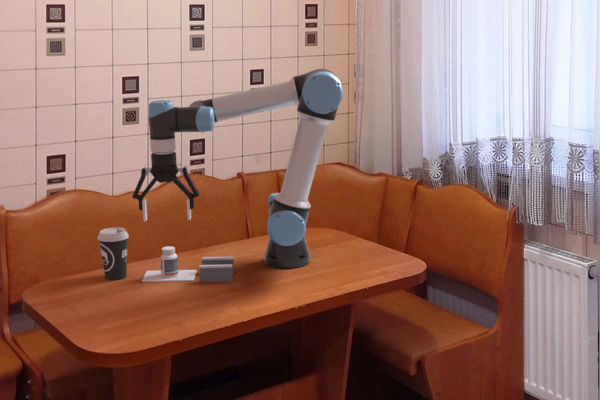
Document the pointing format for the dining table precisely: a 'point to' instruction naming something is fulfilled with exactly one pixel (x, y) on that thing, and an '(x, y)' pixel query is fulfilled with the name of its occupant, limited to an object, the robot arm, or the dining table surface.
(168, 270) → the pill bottle
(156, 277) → the mat
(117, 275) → the coffee cup
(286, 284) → the dining table surface
